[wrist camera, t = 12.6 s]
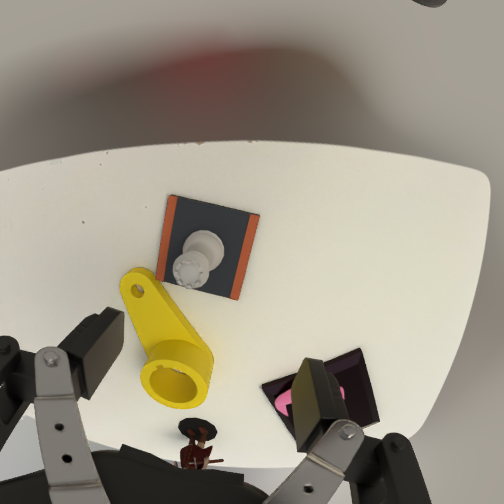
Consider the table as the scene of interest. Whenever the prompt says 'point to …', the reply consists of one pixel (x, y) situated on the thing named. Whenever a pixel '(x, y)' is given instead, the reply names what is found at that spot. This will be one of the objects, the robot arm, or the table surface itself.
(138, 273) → the crank
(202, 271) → the rook chess piece
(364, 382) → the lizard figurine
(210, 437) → the figurine
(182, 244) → the mat
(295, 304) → the table surface
